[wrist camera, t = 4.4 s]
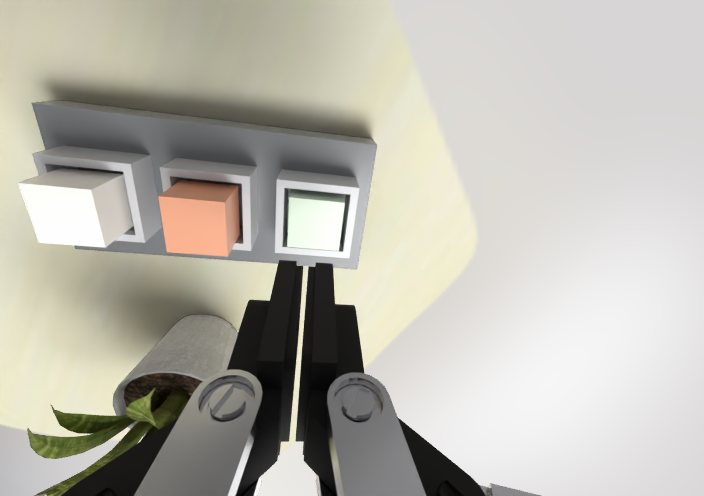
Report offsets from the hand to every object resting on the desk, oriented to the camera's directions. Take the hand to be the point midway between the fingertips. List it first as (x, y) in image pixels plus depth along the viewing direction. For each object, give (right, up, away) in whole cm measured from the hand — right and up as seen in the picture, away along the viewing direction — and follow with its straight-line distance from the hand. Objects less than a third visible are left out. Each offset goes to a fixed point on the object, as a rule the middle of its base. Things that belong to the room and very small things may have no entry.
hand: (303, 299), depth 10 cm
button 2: (-6, +4, +7) cm, 10 cm away
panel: (-6, +5, +10) cm, 13 cm away
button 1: (-11, +4, +6) cm, 14 cm away
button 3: (-1, +4, +9) cm, 10 cm away
